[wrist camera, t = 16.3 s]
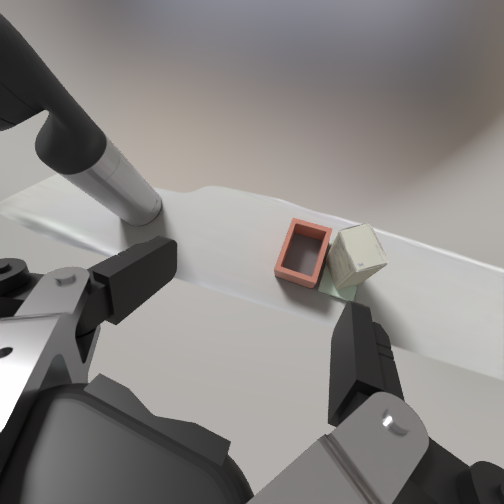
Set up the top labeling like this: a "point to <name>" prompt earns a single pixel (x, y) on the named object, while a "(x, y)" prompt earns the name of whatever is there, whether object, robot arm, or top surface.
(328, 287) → the pad
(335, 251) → the skincare box
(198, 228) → the top surface
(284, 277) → the bin
